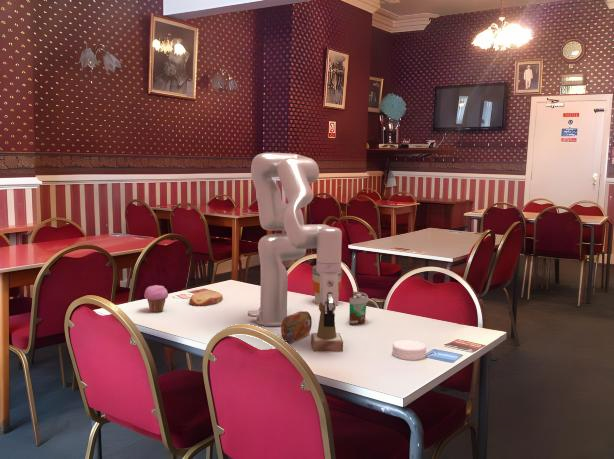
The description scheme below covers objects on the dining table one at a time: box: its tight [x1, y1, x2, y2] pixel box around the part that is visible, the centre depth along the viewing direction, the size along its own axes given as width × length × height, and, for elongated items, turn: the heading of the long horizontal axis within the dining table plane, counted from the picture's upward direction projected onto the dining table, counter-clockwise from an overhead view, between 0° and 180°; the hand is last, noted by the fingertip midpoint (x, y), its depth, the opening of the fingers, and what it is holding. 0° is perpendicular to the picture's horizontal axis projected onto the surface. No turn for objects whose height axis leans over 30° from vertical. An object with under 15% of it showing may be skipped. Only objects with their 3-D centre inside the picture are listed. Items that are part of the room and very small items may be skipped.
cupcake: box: [144, 284, 169, 313], centre depth 223 cm, size 9×9×10 cm
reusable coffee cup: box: [311, 265, 343, 305], centre depth 241 cm, size 12×13×15 cm
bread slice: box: [188, 289, 224, 307], centre depth 242 cm, size 18×18×4 cm
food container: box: [348, 291, 369, 326], centre depth 212 cm, size 12×6×10 cm, turn 168°
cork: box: [316, 302, 337, 339], centre depth 182 cm, size 6×6×11 cm
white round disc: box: [392, 339, 427, 361], centre depth 177 cm, size 10×10×4 cm
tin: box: [280, 310, 313, 343], centre depth 191 cm, size 15×3×8 cm, turn 148°
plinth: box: [310, 332, 344, 352], centre depth 183 cm, size 9×9×3 cm
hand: (327, 322), depth 182 cm, fingers open, 9 cm apart
